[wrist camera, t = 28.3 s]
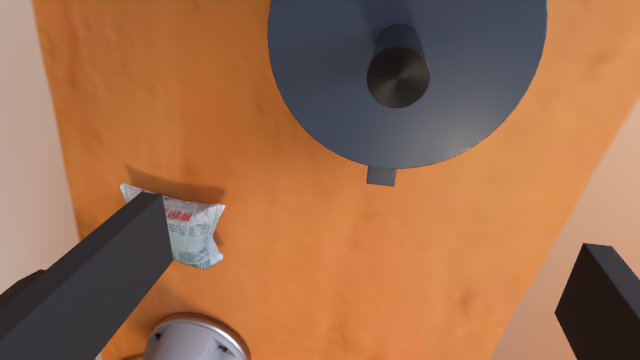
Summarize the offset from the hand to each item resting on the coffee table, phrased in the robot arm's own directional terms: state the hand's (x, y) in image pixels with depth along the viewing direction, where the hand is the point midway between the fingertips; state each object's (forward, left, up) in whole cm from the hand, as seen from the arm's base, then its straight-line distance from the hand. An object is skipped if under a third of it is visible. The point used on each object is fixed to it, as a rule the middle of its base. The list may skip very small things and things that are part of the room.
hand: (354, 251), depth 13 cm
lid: (+1, +4, -20) cm, 20 cm away
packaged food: (-22, -18, -27) cm, 39 cm away
